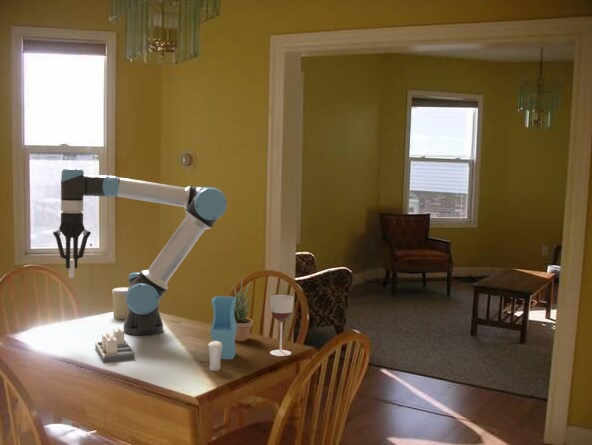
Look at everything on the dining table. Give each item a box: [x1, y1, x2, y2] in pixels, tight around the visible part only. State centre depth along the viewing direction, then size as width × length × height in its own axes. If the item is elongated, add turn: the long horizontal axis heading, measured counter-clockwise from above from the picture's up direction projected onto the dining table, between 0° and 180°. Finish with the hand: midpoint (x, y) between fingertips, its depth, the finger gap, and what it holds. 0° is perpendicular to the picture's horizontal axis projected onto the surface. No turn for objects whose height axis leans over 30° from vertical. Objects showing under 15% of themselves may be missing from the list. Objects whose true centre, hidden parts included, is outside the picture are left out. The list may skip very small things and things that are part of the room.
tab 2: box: [106, 336, 117, 354], centre depth 207 cm, size 3×4×5 cm
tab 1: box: [101, 332, 113, 350], centre depth 211 cm, size 3×4×5 cm
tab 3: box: [112, 327, 125, 344], centre depth 218 cm, size 3×4×5 cm
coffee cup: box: [111, 286, 129, 320], centre depth 265 cm, size 9×9×12 cm
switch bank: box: [94, 339, 135, 363], centre depth 213 cm, size 10×17×2 cm, turn 26°
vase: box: [209, 295, 237, 360], centre depth 214 cm, size 8×8×20 cm
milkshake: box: [205, 339, 222, 372], centre depth 199 cm, size 4×5×10 cm
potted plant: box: [230, 276, 254, 342], centre depth 236 cm, size 10×10×25 cm
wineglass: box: [269, 294, 295, 357], centre depth 219 cm, size 8×9×20 cm
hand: (71, 277), depth 224 cm, fingers closed
